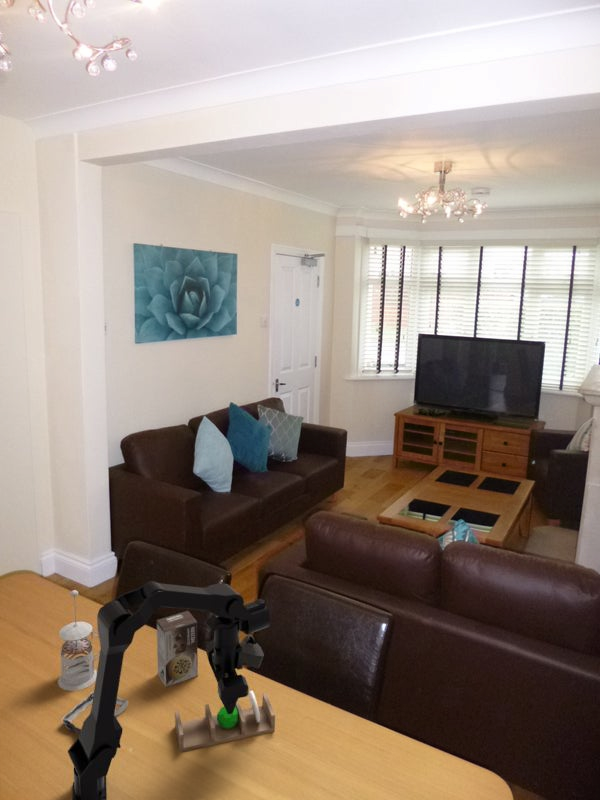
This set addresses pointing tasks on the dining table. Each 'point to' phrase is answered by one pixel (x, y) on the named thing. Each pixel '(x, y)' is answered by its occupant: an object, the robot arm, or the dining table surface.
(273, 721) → the rack
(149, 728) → the dining table surface
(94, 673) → the french press
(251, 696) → the saucer
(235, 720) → the polyhedron
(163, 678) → the coffee box
